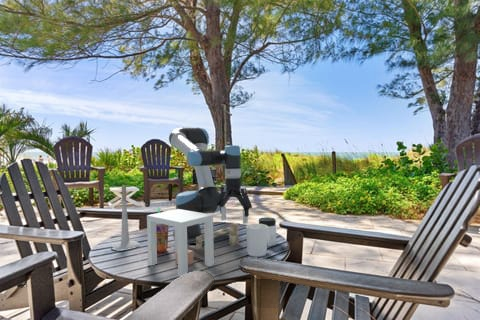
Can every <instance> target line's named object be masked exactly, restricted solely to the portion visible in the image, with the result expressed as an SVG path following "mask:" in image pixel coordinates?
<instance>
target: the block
mask: <svg viewBox="0 0 480 320" xmlns="http://www.w3.org/2000/svg"><path fill="white" fill-rule="evenodd" d="M187 256H188V266H190V265H192V264H194V261H195V260H194V259H195V258H194V257H193V251H192V250H188V248H187ZM177 264H178V253H177V252H176V256H175V265H177Z"/></svg>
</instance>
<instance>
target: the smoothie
mask: <svg viewBox="0 0 480 320" xmlns="http://www.w3.org/2000/svg"><path fill="white" fill-rule="evenodd" d="M157 209H158V211H157V213H161V210H160V209H161V207H158V208H157ZM169 226H170V225H165V224H161V223H157V222H156V237H157V254H163V253H162V252H164V253H166V252H167V249H168V247H169V245H168V244H169ZM165 251H166V252H165Z"/></svg>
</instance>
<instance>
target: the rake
mask: <svg viewBox="0 0 480 320" xmlns="http://www.w3.org/2000/svg"><path fill="white" fill-rule="evenodd" d="M239 232H240V231H239V222H233V223H229V224H228V226H227V227H224V228H221V229H218V230H213V238H216V237H220V236H222V235H225V234H227V233H228V234H229V246H233V247H234V246H237V245H239V244H240V241H239V239H240V238H239V235H240V234H239ZM203 242H204V234H203V235H201V236H198V237H196V238H195V245H192V244H191V245H187V249H188V250H192V251H193V257H194V259H198V260H201V261H204V262H205V248H203Z"/></svg>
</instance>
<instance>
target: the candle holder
mask: <svg viewBox="0 0 480 320" xmlns="http://www.w3.org/2000/svg"><path fill="white" fill-rule="evenodd" d="M267 234H268V226H267V225H265V224H259V223H249V224H247V225H245V235H246V238H245V239H246V247H247V248H246V249H247V250H246V251H247V255H249V256H251V257H255V258H258V257H264V256H266V255H267V251H268V246H267Z"/></svg>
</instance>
